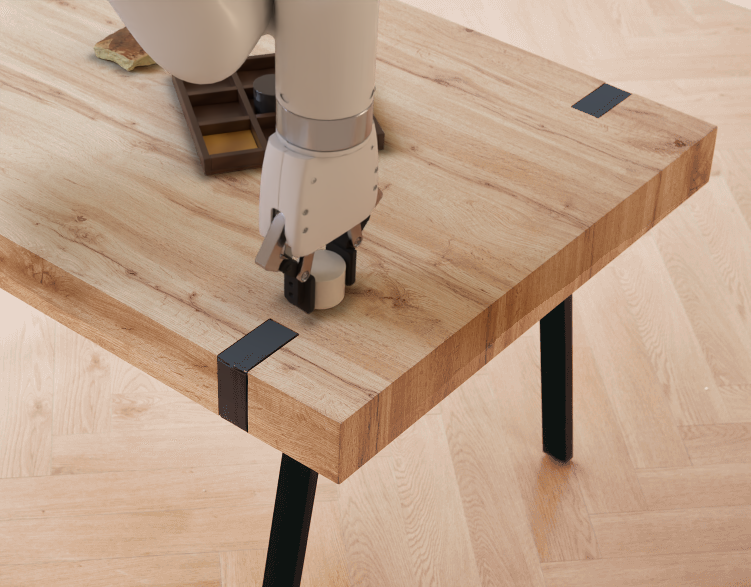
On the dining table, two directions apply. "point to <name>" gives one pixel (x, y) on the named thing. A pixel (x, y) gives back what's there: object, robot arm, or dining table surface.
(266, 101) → the black stone
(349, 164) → the robot arm
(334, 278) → the ivory stone
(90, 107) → the dining table surface
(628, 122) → the dining table surface
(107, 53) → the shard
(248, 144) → the board
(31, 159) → the dining table surface
